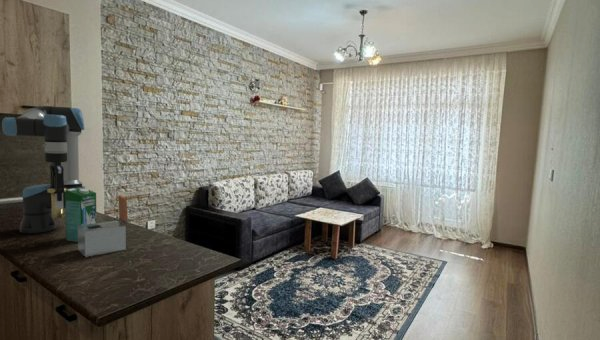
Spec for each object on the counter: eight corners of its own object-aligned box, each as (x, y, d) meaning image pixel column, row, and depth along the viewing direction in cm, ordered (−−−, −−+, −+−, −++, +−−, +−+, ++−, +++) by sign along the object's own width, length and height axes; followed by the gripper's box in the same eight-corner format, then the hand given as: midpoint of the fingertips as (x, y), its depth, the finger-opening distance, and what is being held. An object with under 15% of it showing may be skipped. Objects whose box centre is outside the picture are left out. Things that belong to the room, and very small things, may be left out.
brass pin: (47, 216, 140) (46, 188, 139) (65, 214, 145) (64, 187, 144) (49, 220, 136) (48, 190, 135) (68, 217, 140) (67, 189, 139)
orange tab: (122, 220, 159) (118, 220, 158) (120, 195, 158) (117, 195, 157) (128, 224, 153) (125, 224, 152) (127, 198, 152) (123, 198, 151)
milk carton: (81, 242, 158) (80, 190, 156) (65, 240, 160) (64, 189, 157) (97, 236, 167) (96, 188, 164) (81, 235, 169) (80, 186, 166)
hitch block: (78, 249, 149) (77, 225, 148) (117, 242, 160) (116, 220, 159) (85, 257, 141) (84, 232, 140) (125, 249, 152) (125, 226, 151)
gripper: (40, 150, 142) (42, 203, 144) (49, 154, 128) (50, 212, 131) (62, 150, 147) (63, 201, 149) (72, 154, 133) (73, 210, 136)
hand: (57, 206), depth 140 cm, fingers closed on brass pin, 6 cm apart
